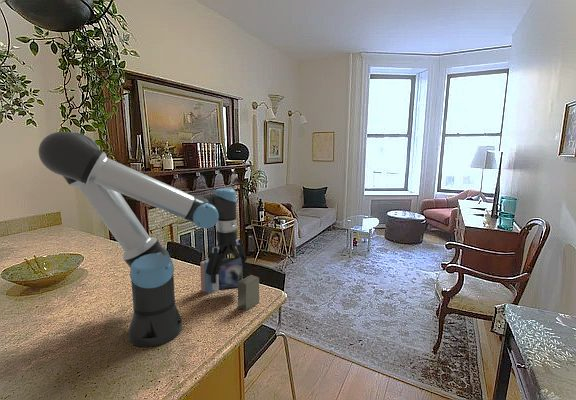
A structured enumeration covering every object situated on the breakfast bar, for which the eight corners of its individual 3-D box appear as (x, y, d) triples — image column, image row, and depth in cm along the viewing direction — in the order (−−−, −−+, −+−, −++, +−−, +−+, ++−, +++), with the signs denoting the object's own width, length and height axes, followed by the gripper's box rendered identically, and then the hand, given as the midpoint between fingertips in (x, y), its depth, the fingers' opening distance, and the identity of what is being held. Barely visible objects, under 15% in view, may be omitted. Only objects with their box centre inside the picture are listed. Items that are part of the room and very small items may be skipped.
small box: (214, 291, 109) (213, 265, 108) (213, 284, 116) (212, 258, 114) (242, 288, 112) (242, 262, 110) (240, 281, 118) (240, 256, 117)
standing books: (208, 294, 116) (207, 262, 114) (201, 290, 118) (200, 260, 116) (222, 287, 121) (221, 257, 119) (214, 284, 124) (213, 255, 122)
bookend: (246, 310, 104) (245, 284, 103) (238, 307, 107) (237, 281, 105) (259, 302, 110) (259, 277, 108) (251, 299, 112) (251, 274, 111)
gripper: (207, 239, 98) (210, 299, 102) (255, 225, 117) (255, 276, 121) (193, 235, 103) (196, 293, 106) (241, 222, 122) (242, 271, 126)
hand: (228, 284), depth 114 cm, fingers closed on small box, 11 cm apart
